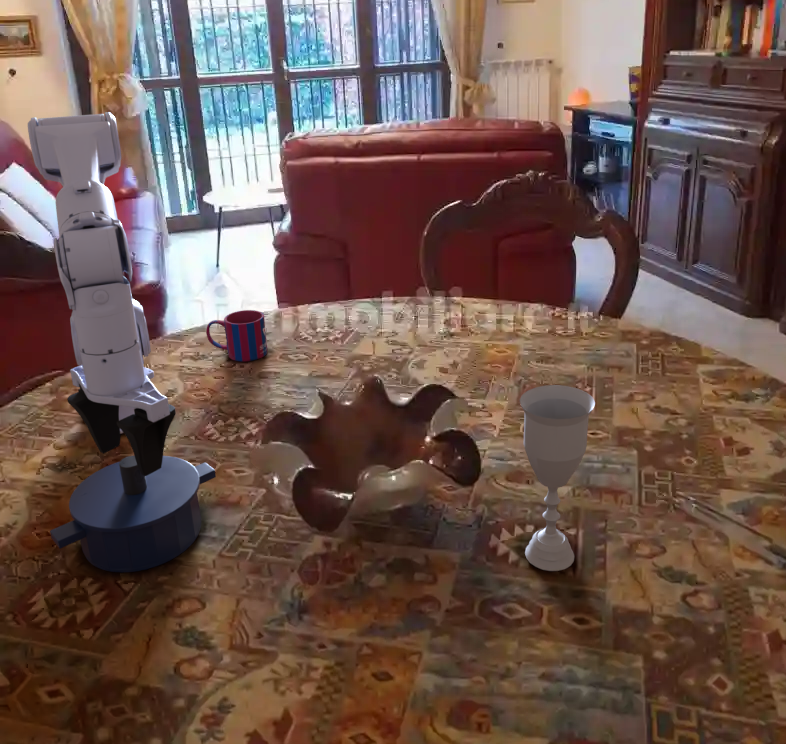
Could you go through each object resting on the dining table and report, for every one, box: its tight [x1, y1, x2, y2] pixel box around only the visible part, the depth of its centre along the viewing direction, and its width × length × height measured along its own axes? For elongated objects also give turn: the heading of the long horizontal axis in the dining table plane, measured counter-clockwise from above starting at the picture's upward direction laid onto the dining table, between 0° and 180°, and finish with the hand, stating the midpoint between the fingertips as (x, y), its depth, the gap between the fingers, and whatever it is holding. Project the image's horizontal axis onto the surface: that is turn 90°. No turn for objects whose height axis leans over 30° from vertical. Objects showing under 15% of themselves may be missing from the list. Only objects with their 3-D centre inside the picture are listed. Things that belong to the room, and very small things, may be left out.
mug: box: [205, 309, 268, 362], centre depth 128 cm, size 7×10×7 cm
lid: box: [68, 455, 201, 532], centre depth 81 cm, size 14×14×5 cm
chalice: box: [519, 384, 596, 572], centre depth 75 cm, size 7×7×18 cm
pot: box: [49, 462, 217, 573], centre depth 83 cm, size 13×18×5 cm
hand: (130, 459), depth 81 cm, fingers open, 7 cm apart
